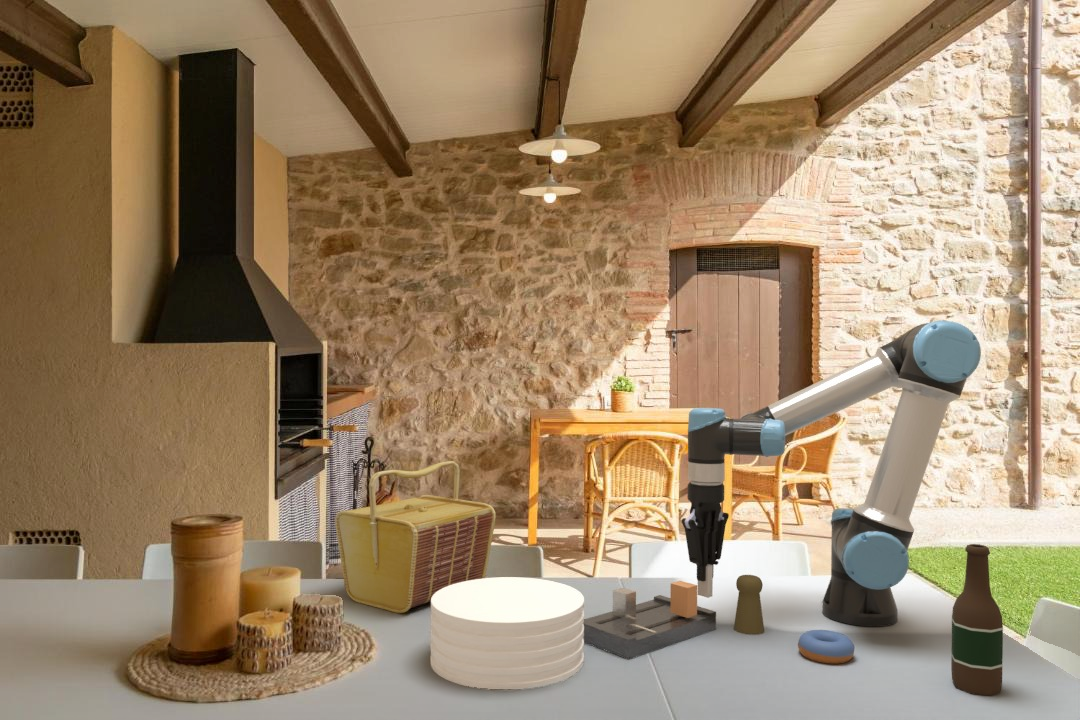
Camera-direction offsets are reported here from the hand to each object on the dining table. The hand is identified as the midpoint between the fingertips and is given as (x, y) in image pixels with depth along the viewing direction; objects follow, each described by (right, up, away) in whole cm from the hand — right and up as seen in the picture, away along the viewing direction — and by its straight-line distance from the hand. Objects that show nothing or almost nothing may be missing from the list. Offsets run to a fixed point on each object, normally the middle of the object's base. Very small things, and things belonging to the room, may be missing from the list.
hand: (704, 595), depth 171 cm
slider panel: (-13, -6, -6) cm, 16 cm away
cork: (+8, -6, -3) cm, 11 cm away
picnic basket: (-63, -6, +20) cm, 66 cm away
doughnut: (+19, -7, -18) cm, 27 cm away
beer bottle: (+40, -7, -32) cm, 51 cm away
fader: (-5, -2, -4) cm, 7 cm away
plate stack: (-40, -6, -20) cm, 46 cm away
